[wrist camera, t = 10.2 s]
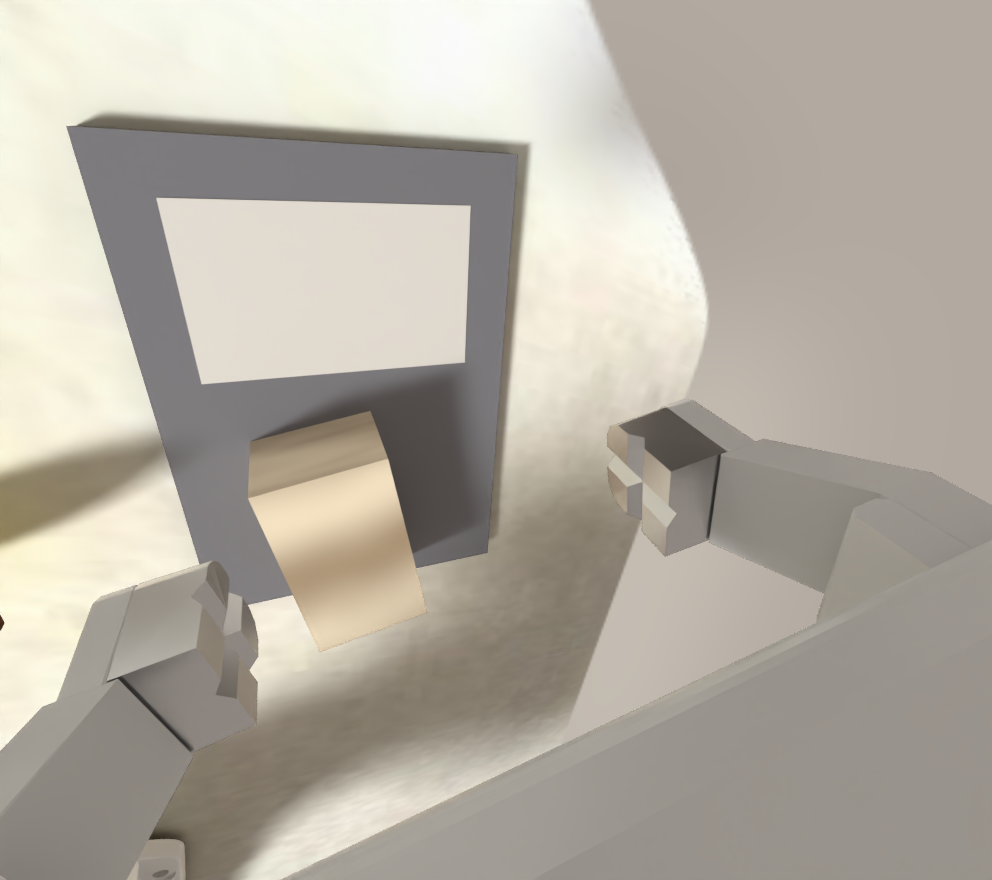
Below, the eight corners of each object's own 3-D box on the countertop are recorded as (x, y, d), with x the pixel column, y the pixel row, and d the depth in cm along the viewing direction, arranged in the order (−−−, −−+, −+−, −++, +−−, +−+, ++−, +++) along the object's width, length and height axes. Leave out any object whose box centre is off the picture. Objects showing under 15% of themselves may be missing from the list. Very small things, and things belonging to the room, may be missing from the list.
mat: (482, 543, 30) (487, 553, 30) (215, 599, 26) (214, 612, 25) (509, 153, 20) (518, 154, 19) (74, 126, 15) (66, 126, 15)
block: (408, 555, 28) (427, 612, 24) (312, 587, 26) (319, 652, 23) (370, 410, 23) (387, 458, 19) (250, 441, 21) (248, 498, 18)
